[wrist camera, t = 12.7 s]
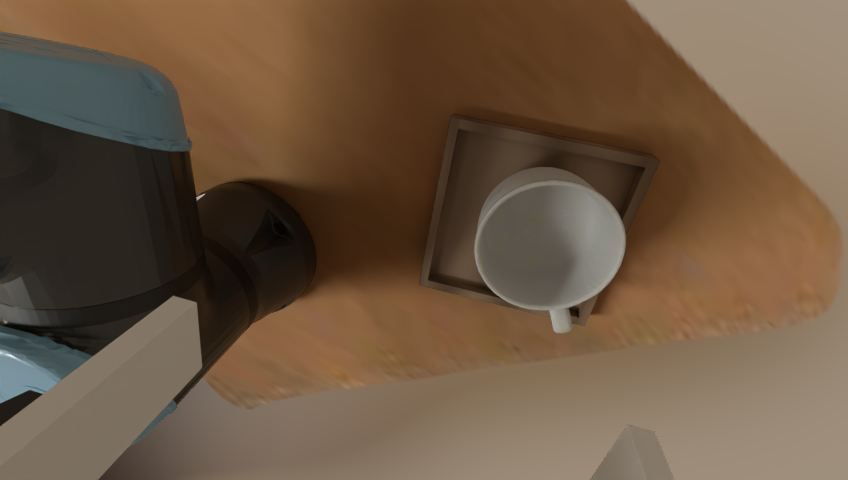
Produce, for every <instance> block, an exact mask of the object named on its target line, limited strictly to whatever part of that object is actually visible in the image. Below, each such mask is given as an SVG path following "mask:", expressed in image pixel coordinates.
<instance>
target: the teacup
mask: <svg viewBox="0 0 848 480" xmlns="http://www.w3.org/2000/svg"><path fill="white" fill-rule="evenodd" d="M625 249H626V233H625V228H624V225H623V222H622V220H621V218H620V215H619V213H618V212H617V210H616V209H615V207H614V206H613V205H612V204H611V202H610V201H609V200H608V199H606V198H605V197H604V196H603V195H602V194H600V193H599V192H597V191H596V190H595V189H594V188H593V187H592V186H591V185H590V184H588V183H587V182H586V181H585V180H583V179H582V178H580V177H579V176H577V175H575V174H573V173H571V172H568V171H565V170H563V169H558V168H553V167H535V168H529V169H526V170H522V171H519V172H517V173H515V174H513V175H511V176H509V177H507V178H506V179H505V180H503V181H502V182H501V183H499V184H498V185H497V186H496V187H495V188H494V189H493V191H492V192H491V193H490V194H489V196H488V197H487V199H486V201H485V203H484V205H483V207H482V210H481V213H480V216H479V221H478V227H477V233H476V237H475V244H474V253H475V261H476V266H477V268H478V271H479V273H480V274H481V277H482V278H483V280H484V282H485V283H486V284H487V286H488V287H489V288H490V289H491V290H492V291H493V292H494V293H495V294H496V295H498V296H499V297H501V298H502V299H503V300H505V301H507V302H509V303H511V304H513V305H516V306H519V307H522V308H526V309H532V310H549V311H550V315H551V320H552V325H553V329H554V331H555V332H557V333H566V332H569V331H571V330H572V328H573V326H572V321H571V316H570V311H569V307H572V306H574V305H577V304H579V303H581V302H583V301H586V300H588V299H590V298H592V297H594V296H595V295H596V294H598V293H599V292H600V291H602V290H603V289H604V288H605V287H606V286H607V285H608V284H609V283H610V282H611V280H612V279H613V278H614V276H615V275H616V273H617V272H618V270H619V268H620V266H621V264H622V260H623V257H624V253H625Z"/></svg>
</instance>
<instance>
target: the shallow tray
mask: <svg viewBox="0 0 848 480" xmlns="http://www.w3.org/2000/svg"><path fill="white" fill-rule="evenodd" d="M659 162H660V160H659V159H658V158H656V157H655V156H654V155H651V154H646V153H641V152H636V151H631V150H627V149H622V148H617V147H612V146H607V145H602V144H597V143H592V142H587V141H583V140H578V139H573V138H568V137H563V136H558V135H553V134H548V133H544V132H539V131H534V130H529V129H524V128H519V127H514V126H509V125H504V124H500V123H495V122H490V121H485V120H480V119H475V118H470V117H465V116H461V115H456V114H453V115H452V116H451V119H450V124H449V129H448V134H447V140H446V145H445V150H444V155H443V161H442V166H441V171H440V176H439V181H438V187H437V192H436V197H435V202H434V208H433V213H432V218H431V223H430V228H429V234H428V239H427V244H426V249H425V255H424V260H423V265H422V270H421V275H420V281H419V285H421V286H425V287H429V288H433V289H437V290H441V291H445V292H449V293H453V294H457V295H461V296H465V297H469V298H473V299H477V300H481V301H485V302H489V303H493V304H497V305H501V306H505V307H509V308H514V309H518V310H522V311H526V312H530V313H534V314H538V315H542V316H546V317H550V318H551V315H550V311H549V310H532V309H526V308H522V307H519V306H516V305H513V304H511V303H509V302H507V301H505V300H503V299H502V298H501V297H499V296H498V295H496V294H495V293H494V292H493V291H492V290H491V289H490V288H489V287H488V286H487V284H486V283H485V282H484V280H483V278H482V277H481V274H480V273H479V271H478V268H477V266H476V261H475V253H474V244H475V237H476V233H477V227H478V221H479V216H480V213H481V210H482V207H483V205H484V203H485V201H486V199H487V197H488V196H489V194H490V193H491V192H492V191H493V189H494V188H495V187H496V186H497V185H498V184H499V183H501V182H502V181H503V180H505V179H506V178H507V177H509V176H511V175H513V174H515V173H517V172H519V171H522V170H526V169H529V168H535V167H553V168H558V169H563V170H565V171H568V172H571V173H573V174H575V175H577V176H579V177H580V178H582V179H583V180H585V181H586V182H587V183H588V184H590V185H591V186H592V187H593V188H594V189H595V190H596V191H597V192H599V193H600V194H602V195H603V196H604V197H605V198H606V199H608V200H609V201H610V202H611V204H612V205H613V206H614V207H615V209H616V210H617V212H618V213H619V215H620V218H621V220H622V222H623V225H624V228H625V233H626V234H627V232H628V230H629V228H630V225H631V223H632V221H633V219H634V217H635V214H636V212H637V210H638V208H639V206H640V204H641V201H642V199H643V197H644V195H645V193H646V190H647V188H648V186H649V184H650V182H651V179H652V177H653V175H654V173H655V171H656V168H657V166H658V164H659ZM599 294H600V292H599V293H598V294H596V295H595V296H594V297H592V298H590V299H588V300H586V301H583V302H581V303H579V304H577V305H574V306H572V307H569V311H570V316H571V321H572V323H574V324H578V325H582V326H585V324H586V322H587V320H588V318H589V315H590V313H591V311H592V309H593V307H594V304H595V302H596V300H597V298H598V296H599Z"/></svg>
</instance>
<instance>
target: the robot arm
mask: <svg viewBox="0 0 848 480" xmlns="http://www.w3.org/2000/svg"><path fill="white" fill-rule="evenodd" d="M191 148H192V142H191V140H190V138H189V137H187V133H186V128H185V124H184V119H183V115H182V110H181V105H180V101H179V96H178V93H177V91H176V89H175V87H174V85H173V84H172V82H171V81H170V80H169V79H168V78H167V77H166V76H165V75H164V74H163V73H162V72H160V71H159V70H157V69H156V68H154V67H152V66H150V65H148V64H146V63H143V62H140V61H138V60H134V59H131V58H127V57H123V56H119V55H116V54H112V53H107V52H103V51H98V50H94V49H89V48H85V47H80V46H75V45H70V44H65V43H60V42H55V41H50V40H44V39H39V38H34V37H28V36H22V35H17V34H11V33H5V32H0V480H98V479H99V478H100V477H101V476H102V474H103V473H104V472H105V471H106V470H107V469H108V468H109V467H110V466H111V465H112V464H113V463H114V462H115V460H116V459H117V458H118V457H119V456H120V455H121V454H122V453H123V452H124V451H125V450H126V449H127V448H128V447H129V446H130V445H133V444H135V443H137V442H138V441H140V440H141V439H142V438H143V437H144V436H145V435H146V434H148V433H149V432H150V431H151V430H152V429H153V428H154V427H155V426H156V425H157V424H158V423H159V422H160V421H162V420H163V419H164V418H165V417H166V416H167V415H168V414H171V413H172V412H173V411H175V409H176V408H177V405H178V403H179V402H180V401H181V400H182V399H183V398H184V397H185V396H186V395H187V394H188V392H189V391H190V390H191V389H192V388H193V387H194V386H195V385H196V384H197V383H198V382H199V380H200V379H201V378H202V377H203V376H204V375H205V374H206V373H207V372H208V371H209V370H210V368H211V367H212V366H213V365H214V364H215V363H216V362H217V361H218V360H219V359H220V358H221V357H222V355H223V354H224V353H225V352H226V351H227V350H228V349H229V348H230V347H231V346H232V345H233V344H234V343H235V341H236V340H237V339H238V338H239V337H240V336H241V335H242V334H243V333H244V332H245V331H246V330H247V329H248V328H249V327H250V325H251V324H252V323H254V322H256V321H258V320H260V319H262V318H263V317H265V316H266V315H268V314H270V313H273V312H276V311H279V310H281V309H283V308H285V307H287V306H289V305H290V304H291V303H293V302H294V301H295V300H296V299H297V298H298V297H299V296H300V295H301V294H302V293H303V291H304V290H305V289H306V288H307V287H308V285H309V284H310V282H311V280H312V278H313V275H314V272H315V266H316V254H315V248H314V244H313V241H312V238H311V235H310V233H309V231H308V229H307V227H306V226H305V224H304V222H303V221H302V219H301V218H300V217H299V216H298V214H297V213H296V212H295V211H294V210H293V209H292V208H291V207H290V206H289V205H288V204H287V203H286V202H285V201H283V200H282V199H281V198H279V197H278V196H276V195H275V194H273V193H271V192H270V191H268V190H266V189H263V188H261V187H258V186H255V185H252V184H247V183H238V182H233V183H225V184H221V185H218V186H215V187H213V188H211V189H209V190H207V191H204V192H202V193H201V194H199V195H197V196H196V191H195V185H194V178H193V171H192V165H191V158H190V150H191ZM590 480H674V478H673V475H672V473H671V470H670V468H669V466H668V463H667V461H666V458H665V456H664V454H663V451H662V449H661V446H660V444H659V441H658V439H657V436H656V434H655V432H653V431H650V430H646V429H643V428H639V427H636V426H632V425H629V424H627V426H626V427H625V429H624V430H623V432H622V433H621V435H620V436H619V438H618V439H617V441H616V442H615V444H614V445H613V447H612V448H611V450H610V451H609V452H608V454H607V455H606V457H605V458H604V460H603V461H602V463H601V464H600V466H599V467H598V469H597V470H596V472H595V473H594V475H593V476H592V478H591V479H590Z"/></svg>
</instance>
